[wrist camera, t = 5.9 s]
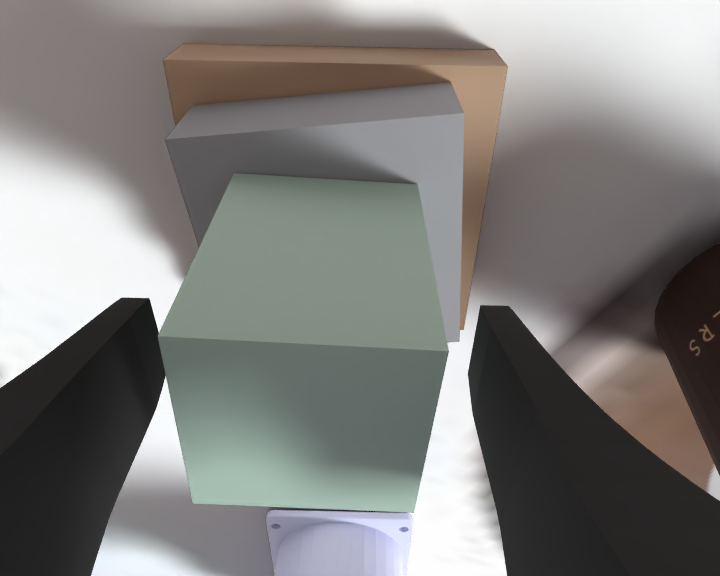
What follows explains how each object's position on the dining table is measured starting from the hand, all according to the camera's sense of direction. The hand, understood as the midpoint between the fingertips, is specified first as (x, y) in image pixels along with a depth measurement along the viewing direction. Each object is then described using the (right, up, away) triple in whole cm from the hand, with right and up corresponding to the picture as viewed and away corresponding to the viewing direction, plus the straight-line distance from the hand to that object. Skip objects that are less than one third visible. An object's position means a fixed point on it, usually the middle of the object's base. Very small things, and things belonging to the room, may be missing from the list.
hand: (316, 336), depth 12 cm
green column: (0, +2, +3) cm, 3 cm away
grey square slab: (0, +4, +5) cm, 6 cm away
